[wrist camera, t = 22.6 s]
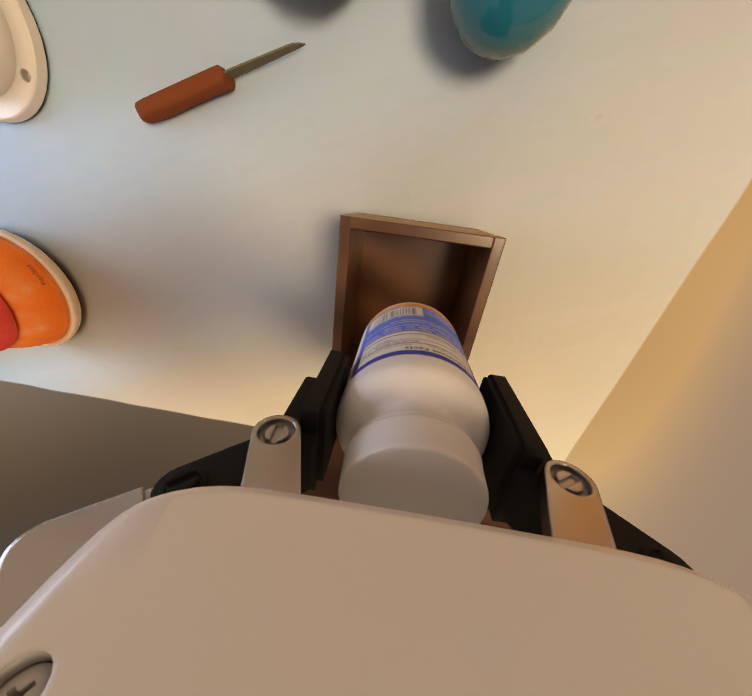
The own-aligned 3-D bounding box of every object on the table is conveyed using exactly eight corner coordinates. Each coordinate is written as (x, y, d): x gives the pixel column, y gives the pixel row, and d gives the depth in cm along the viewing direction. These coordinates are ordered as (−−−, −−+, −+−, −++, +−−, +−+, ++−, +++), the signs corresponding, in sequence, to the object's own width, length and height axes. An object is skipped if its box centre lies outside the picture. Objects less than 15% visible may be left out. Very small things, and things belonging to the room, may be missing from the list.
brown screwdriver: (155, 127, 26) (136, 121, 24) (146, 108, 25) (126, 101, 24) (312, 60, 23) (304, 48, 21) (306, 38, 22) (297, 23, 21)
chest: (359, 212, 28) (340, 215, 20) (477, 229, 27) (506, 238, 19) (347, 345, 34) (329, 386, 26) (442, 360, 34) (453, 406, 26)
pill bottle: (430, 397, 18) (454, 583, 9) (348, 365, 17) (291, 529, 8) (476, 322, 15) (571, 477, 6) (382, 282, 15) (351, 393, 6)
